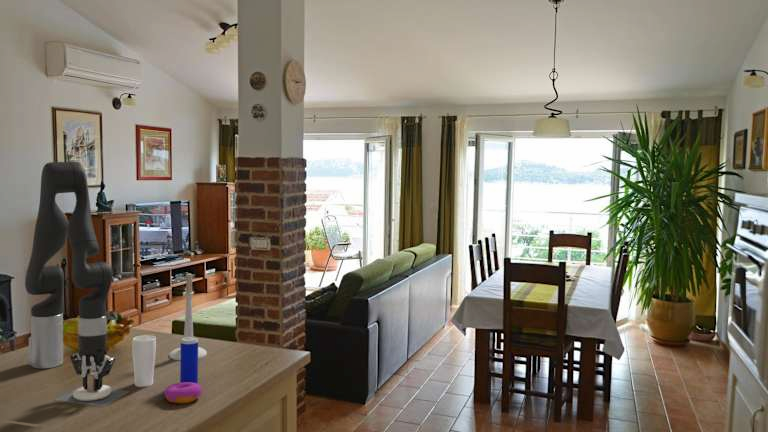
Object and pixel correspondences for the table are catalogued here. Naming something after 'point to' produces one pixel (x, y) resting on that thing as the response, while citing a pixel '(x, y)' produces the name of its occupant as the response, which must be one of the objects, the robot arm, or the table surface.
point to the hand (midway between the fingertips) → (92, 389)
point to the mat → (100, 402)
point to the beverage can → (189, 360)
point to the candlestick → (188, 321)
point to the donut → (183, 392)
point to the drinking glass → (144, 359)
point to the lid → (91, 391)
